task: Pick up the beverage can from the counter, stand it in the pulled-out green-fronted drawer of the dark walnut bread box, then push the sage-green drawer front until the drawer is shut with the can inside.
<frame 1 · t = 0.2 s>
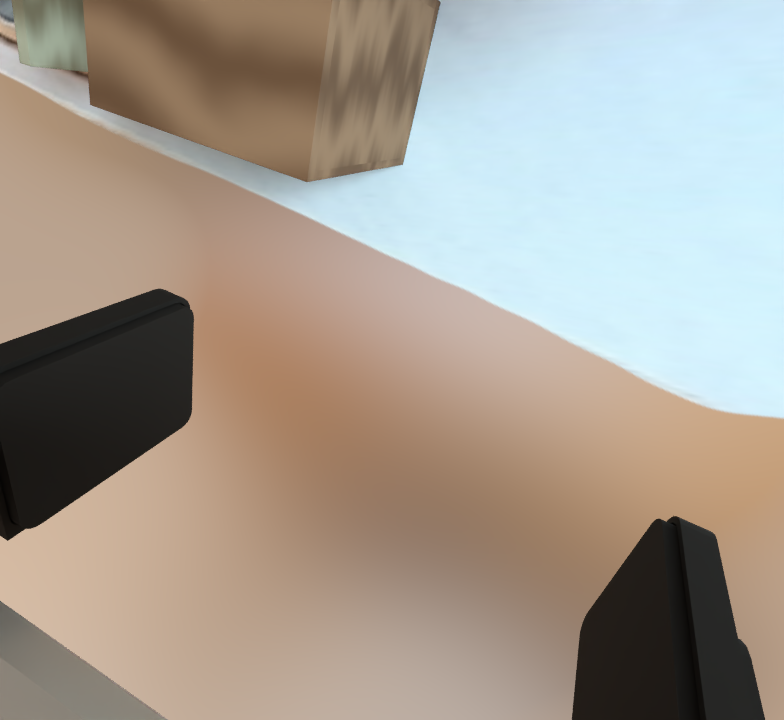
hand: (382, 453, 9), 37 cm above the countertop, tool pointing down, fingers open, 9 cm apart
green-fronted drawer: (161, 18, 41), point 6 cm above the countertop, slide at 10.0 cm
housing: (326, 62, 43), on the countertop
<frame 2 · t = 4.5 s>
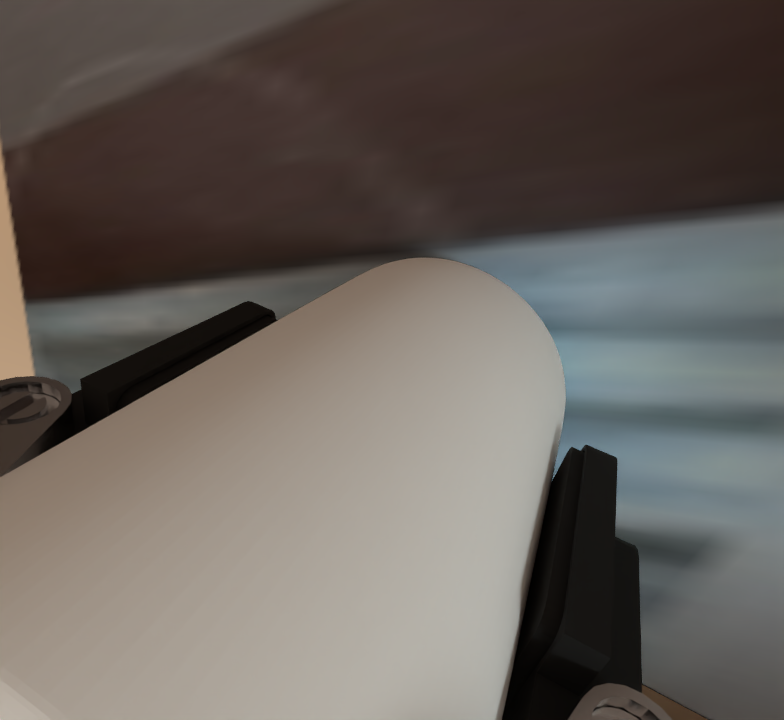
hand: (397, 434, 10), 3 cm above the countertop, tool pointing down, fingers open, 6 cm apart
beverage can: (444, 366, 13), on the countertop, touching gripper
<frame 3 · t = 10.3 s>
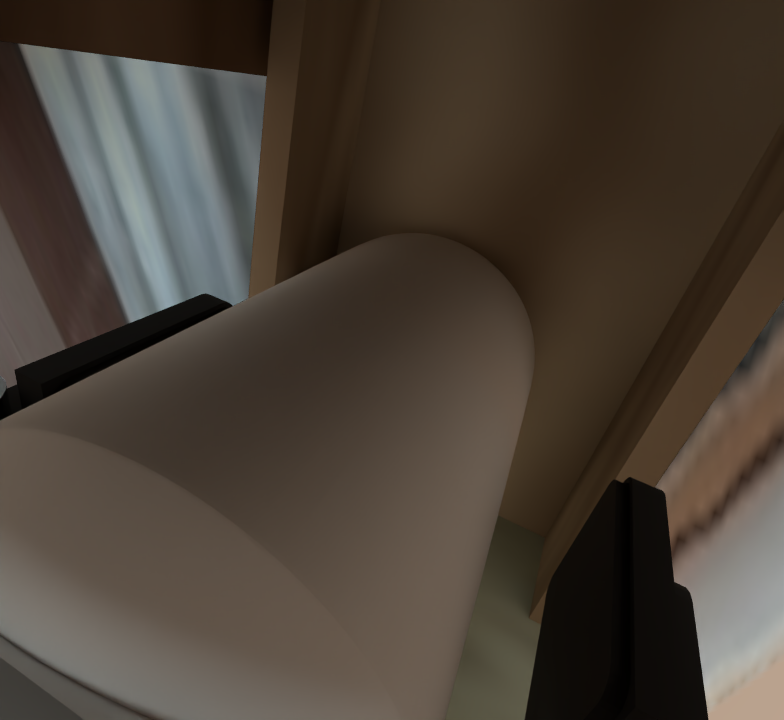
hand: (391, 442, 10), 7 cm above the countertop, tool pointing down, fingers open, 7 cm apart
green-fronted drawer: (434, 322, 9), point 6 cm above the countertop, slide at 10.0 cm, touching beverage can
beverage can: (428, 334, 14), point 2 cm above the countertop, touching gripper, green-fronted drawer
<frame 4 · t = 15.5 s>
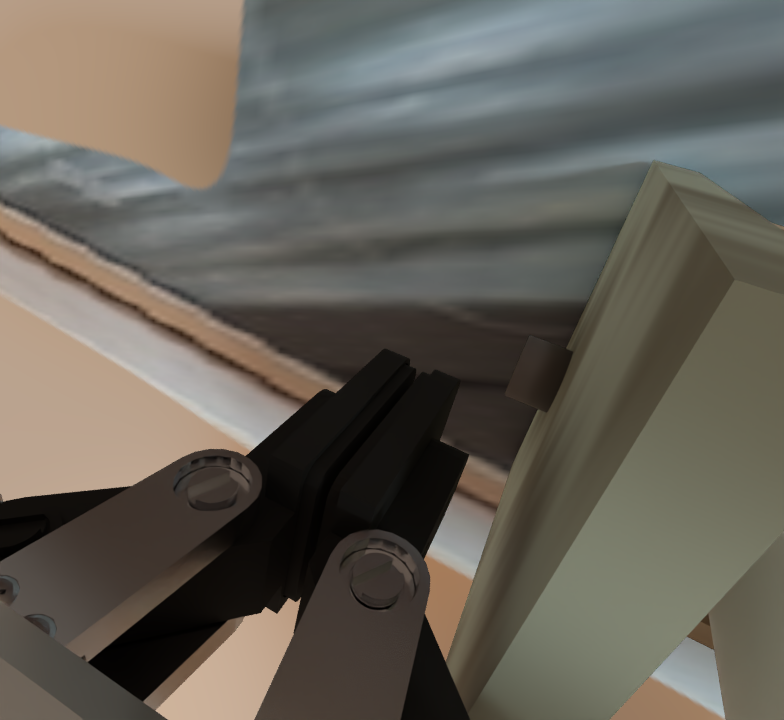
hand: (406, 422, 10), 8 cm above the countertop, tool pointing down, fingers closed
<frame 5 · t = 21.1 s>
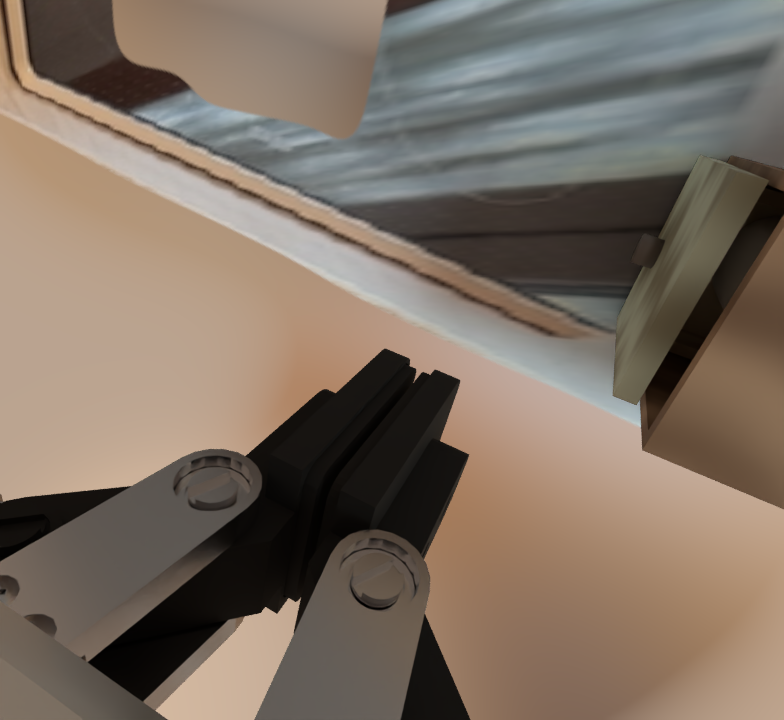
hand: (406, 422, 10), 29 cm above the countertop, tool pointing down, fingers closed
beverage can: (769, 264, 30), point 2 cm above the countertop, touching green-fronted drawer
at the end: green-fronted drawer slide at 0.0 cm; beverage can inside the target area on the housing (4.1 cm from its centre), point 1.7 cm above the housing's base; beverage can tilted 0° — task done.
